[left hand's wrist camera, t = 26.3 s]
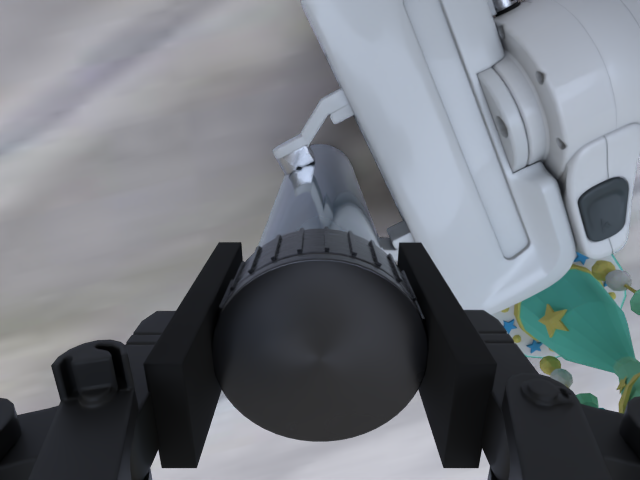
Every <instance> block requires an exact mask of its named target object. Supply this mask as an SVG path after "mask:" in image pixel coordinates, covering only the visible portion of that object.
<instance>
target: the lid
mask: <svg viewBox="0 0 640 480" xmlns="http://www.w3.org/2000/svg"><path fill="white" fill-rule="evenodd" d="M218 310H219V311H220V314H219V316H218V319H217V321H216V324H215V327H214V330H213V335H212V341H211V347H212V358H213V366H214V372H215V376H216V378H217V381H218V383H219V385H220V387H221V389H222V391H223V392H224V394H225V395H226V397H227V398H228V400H229V401H230V402H231V403H232V404H233V406H234V407H235V408H236V409H237V410H238V411H239V412H241V413H242V414H243V415H244V416H245V417H247V418H248V419H249V420H251V421H252V422H253V423H255V424H257V425H259V426H260V427H262V428H264V429H266V430H268V431H271V432H273V433H275V434H278V435H281V436H284V437H288V438H292V439H297V440H304V441H336V440H343V439H348V438H352V437H356V436H359V435H362V434H365V433H367V432H369V431H372V430H374V429H376V428H378V427H380V426H381V425H383V424H385V423H387V422H388V421H389V420H391V419H392V418H393V417H395V416H396V415H397V414H398V413H399V412H400V411H402V410H403V409H404V408H405V407H406V406H407V404H408V403H409V402H410V401H411V399H412V398H413V397H414V395H415V394H416V392H417V390H418V389H419V387H420V385H421V383H422V380H423V378H424V375H425V372H426V368H427V360H428V350H429V345H428V336H427V332H426V327H425V325H424V322H426V320H425V317H424V315H423V313H422V310H421V308H420V306H419V304H418V301H417V298H416V296H415V293H414V291H413V289H412V287H411V284H410V282H409V280H408V278H407V275H406V273H405V271H404V270H403V271H401V270H400V268H399V267H398V266H397V265H396V263H395V261H394V258H393V256H392V255H391V254H390V253H389V254H388V255H387V254H386V253H385V252H384V251H383V250H382V249H380V248H379V247H378V246H376V245H375V242H374V241H373V240H370V241H368V240H366V239H364V238H362V237H360V236H357V235H354V234H353V231H350V230H349V231H348V232H344V231H340V230H333V229H328V227H327V226H325V227H324V229H307V230H304V228H300V230H299V231H296V232H292V233H288V234H285V235H283V236H281V235H280V234H279V235H277V236H276V238H275V239H274V240H272V241H270V242H268V243H266V244H265V245H264V246H262V247H260V246H258V247H257V248H256V250H255V252H254V253H253V254H252V255H251V256H250V257H249V258H248V259H247V261H246V262H244V261H242V262H241V264H240V266H239V268H238V271H237V273H236V275H235V278H234V280H232V279H231V281H230V283H229V285H228V288H227V290H226V292H225V294H224V297H223V299H222V301H221V303H220V305H219V308H218Z"/></svg>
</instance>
